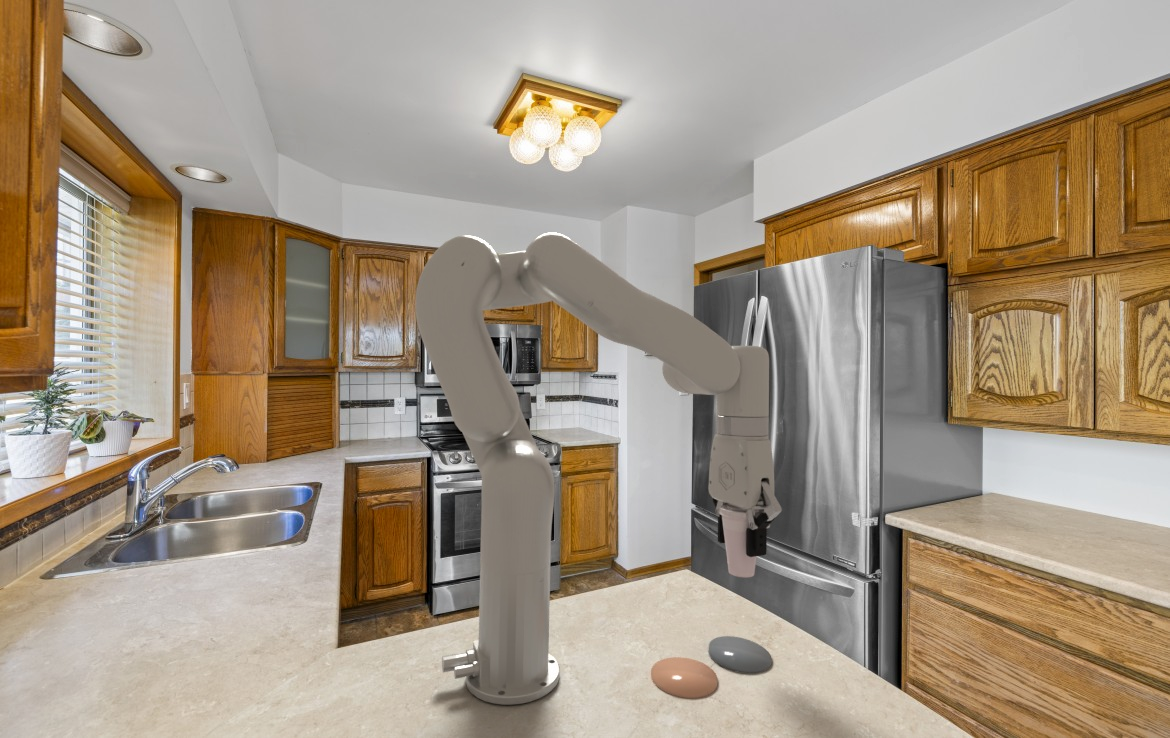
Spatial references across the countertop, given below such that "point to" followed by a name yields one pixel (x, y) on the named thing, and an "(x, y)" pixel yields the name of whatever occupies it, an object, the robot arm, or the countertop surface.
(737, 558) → the smoothie
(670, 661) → the orange brown disc
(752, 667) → the grey pebble
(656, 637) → the countertop surface
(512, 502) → the robot arm
